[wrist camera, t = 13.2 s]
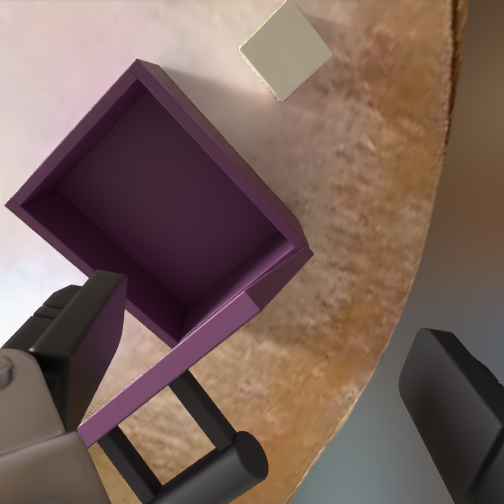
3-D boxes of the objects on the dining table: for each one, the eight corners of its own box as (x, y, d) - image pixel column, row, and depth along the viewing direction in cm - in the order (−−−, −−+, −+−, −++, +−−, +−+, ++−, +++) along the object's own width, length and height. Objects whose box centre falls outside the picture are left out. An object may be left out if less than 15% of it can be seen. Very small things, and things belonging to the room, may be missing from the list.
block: (239, 54, 30) (238, 48, 26) (284, 8, 29) (290, -5, 25) (278, 101, 32) (282, 102, 27) (322, 59, 30) (334, 54, 26)
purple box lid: (-22, 508, 15) (66, 634, 15) (245, 289, 12) (368, 443, 12) (174, 353, 32) (218, 411, 32) (307, 245, 29) (358, 307, 28)
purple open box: (45, 185, 34) (3, 205, 28) (158, 64, 30) (136, 58, 25) (188, 314, 38) (177, 354, 33) (299, 221, 35) (309, 247, 29)
